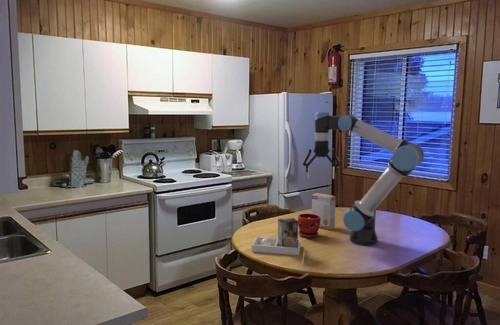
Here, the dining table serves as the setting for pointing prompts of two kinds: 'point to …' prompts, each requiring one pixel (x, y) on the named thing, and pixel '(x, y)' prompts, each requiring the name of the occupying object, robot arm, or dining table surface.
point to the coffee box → (288, 233)
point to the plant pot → (308, 225)
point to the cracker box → (324, 209)
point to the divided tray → (274, 247)
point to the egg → (265, 242)
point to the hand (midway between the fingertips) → (321, 178)
